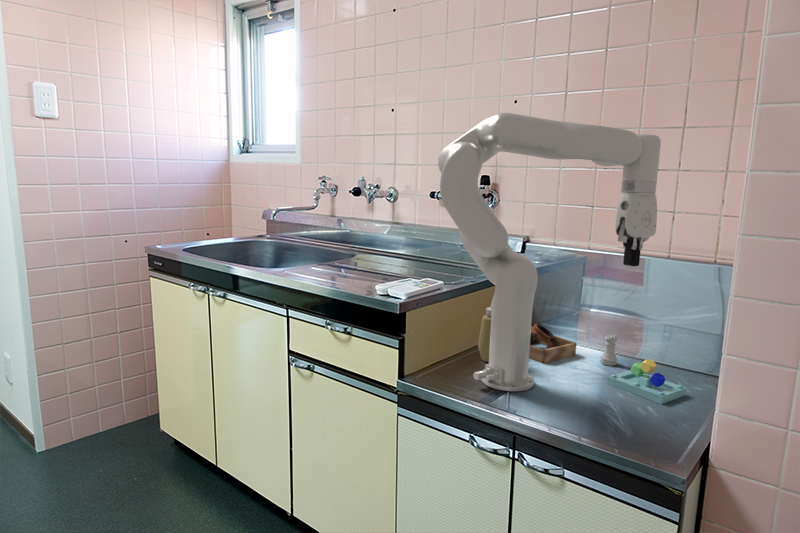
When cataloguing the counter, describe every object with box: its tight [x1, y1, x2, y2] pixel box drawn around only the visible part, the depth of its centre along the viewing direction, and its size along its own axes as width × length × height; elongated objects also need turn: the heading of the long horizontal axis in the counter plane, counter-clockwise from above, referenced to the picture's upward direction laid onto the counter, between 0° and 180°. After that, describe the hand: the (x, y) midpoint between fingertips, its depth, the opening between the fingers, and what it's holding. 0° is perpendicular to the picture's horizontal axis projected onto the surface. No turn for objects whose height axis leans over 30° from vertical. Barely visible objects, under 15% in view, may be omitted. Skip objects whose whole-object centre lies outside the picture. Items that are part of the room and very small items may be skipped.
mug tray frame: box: [529, 335, 577, 364], centre depth 155 cm, size 14×16×4 cm
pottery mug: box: [530, 323, 555, 349], centre depth 156 cm, size 12×10×8 cm
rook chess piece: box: [599, 333, 618, 367], centre depth 146 cm, size 4×4×8 cm
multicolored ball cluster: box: [630, 358, 666, 387], centre depth 128 cm, size 8×3×6 cm, turn 33°
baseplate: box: [607, 369, 687, 405], centre depth 129 cm, size 10×14×2 cm
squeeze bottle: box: [477, 295, 494, 363], centre depth 145 cm, size 8×8×18 cm
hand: (631, 265), depth 130 cm, fingers closed
